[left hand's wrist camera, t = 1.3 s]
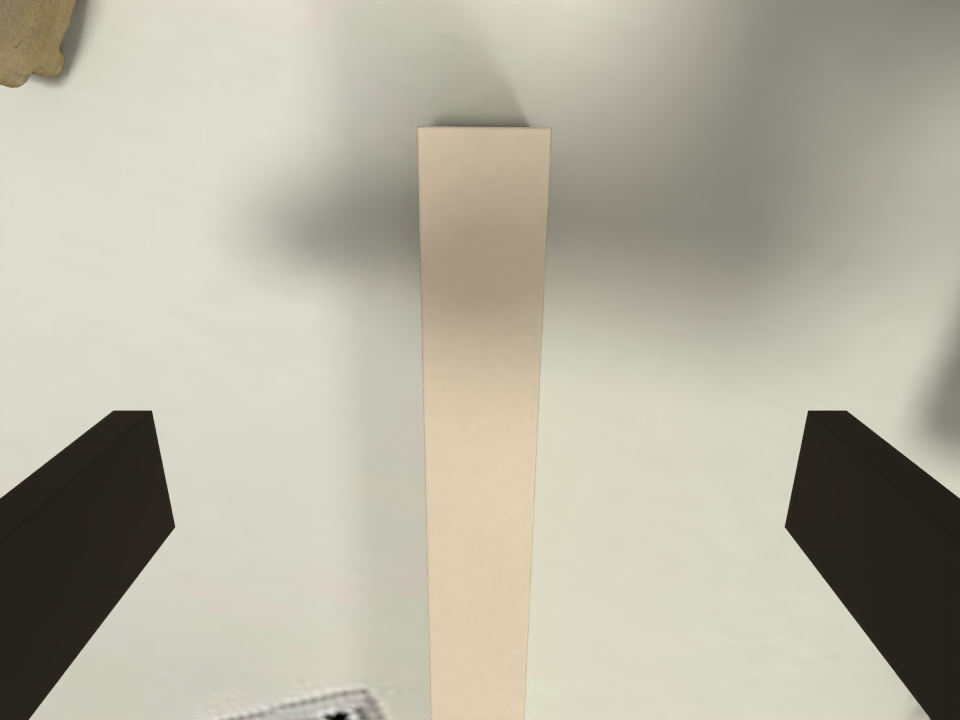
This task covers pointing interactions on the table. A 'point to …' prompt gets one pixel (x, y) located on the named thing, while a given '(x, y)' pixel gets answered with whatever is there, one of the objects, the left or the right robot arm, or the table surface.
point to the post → (481, 405)
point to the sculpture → (32, 38)
